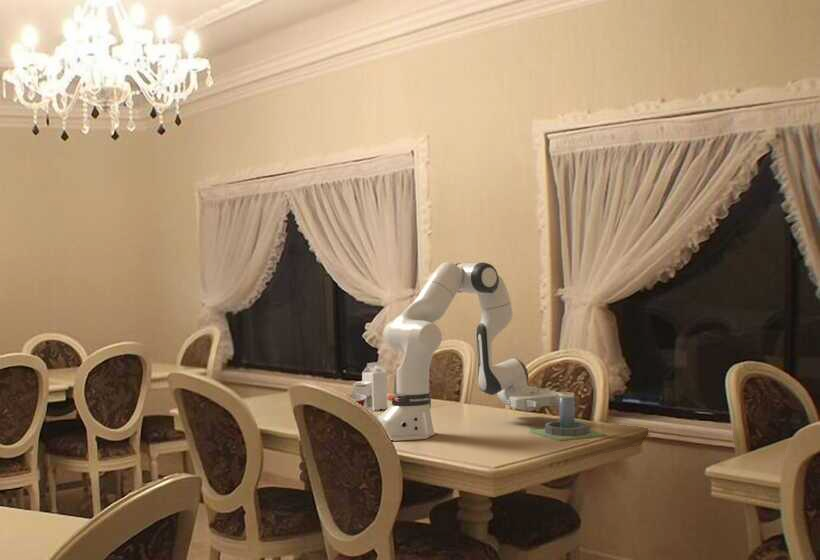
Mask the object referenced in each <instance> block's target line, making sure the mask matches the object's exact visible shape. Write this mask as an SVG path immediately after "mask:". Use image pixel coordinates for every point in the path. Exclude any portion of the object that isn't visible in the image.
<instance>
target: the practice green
mask: <svg viewBox="0 0 820 560" xmlns="http://www.w3.org/2000/svg"><path fill="white" fill-rule="evenodd" d="M590 427H591V426H590V424H589V423H588V422H583V421H576V420H575V428H560V422H559V421H557V420H556V421H550V422H549V421H548V422H547V423H545V424H544V428H537V429H530V430H529V433H533V434H534V435H539V436H542V437H545V438H548V439H552V440H555V441H559V442H562V441H570V440H572V441H573V440H581V439H589V438H596V437H597V436H598V437H604V435H606V436H607V433H605V432H601V431H597V430H595V429H591V428H590Z"/></svg>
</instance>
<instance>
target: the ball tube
mask: <svg viewBox="0 0 820 560" xmlns="http://www.w3.org/2000/svg"><path fill="white" fill-rule="evenodd" d="M558 407H559V408H558V410H559V411H558V416H559V417H558V418H559V422H560V428H575V421H576V420H575V415H576V414H575V393H574V392H572V391H561V392H560V393H559V405H558Z"/></svg>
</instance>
